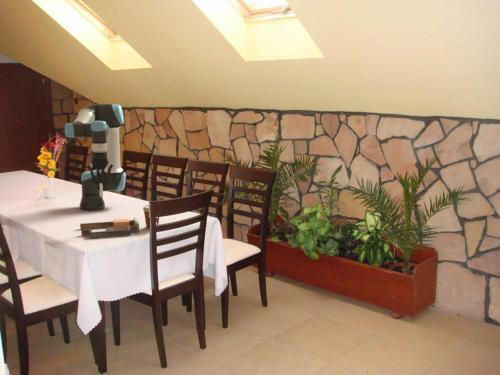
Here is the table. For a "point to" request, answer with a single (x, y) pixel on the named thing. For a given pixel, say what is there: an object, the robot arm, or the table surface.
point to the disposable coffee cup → (147, 218)
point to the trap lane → (108, 229)
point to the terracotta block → (120, 224)
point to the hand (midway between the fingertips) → (101, 195)
